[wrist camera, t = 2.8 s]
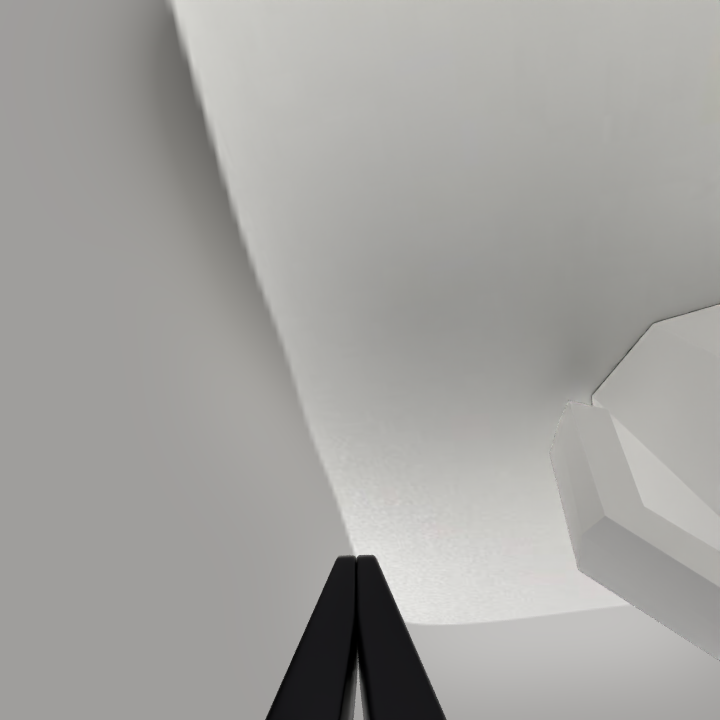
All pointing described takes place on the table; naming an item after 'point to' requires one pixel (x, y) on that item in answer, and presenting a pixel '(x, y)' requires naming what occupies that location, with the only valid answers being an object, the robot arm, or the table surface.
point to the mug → (651, 477)
